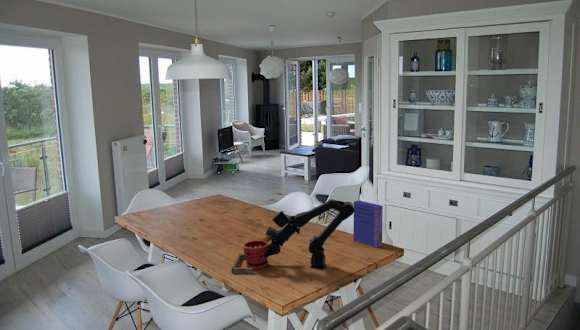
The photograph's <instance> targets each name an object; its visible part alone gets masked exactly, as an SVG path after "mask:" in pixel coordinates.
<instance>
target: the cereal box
mask: <svg viewBox="0 0 580 330" xmlns="http://www.w3.org/2000/svg"><path fill="white" fill-rule="evenodd" d="M353 207H354V213H353V241H354V242H357V243H360V244H363V245H366V246H369V247H372V248H375V249H378V248H381V247H383V218H384V217H383V216H384V214H383V212H384V210H383V207H384V206H383V205H380V204H377V203H373V202H368V201H362V200H356V201H353Z"/></svg>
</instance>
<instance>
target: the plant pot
mask: <svg viewBox="0 0 580 330" xmlns="http://www.w3.org/2000/svg"><path fill="white" fill-rule="evenodd" d="M269 244H270V243H269V242H268V241H267V242H266V241H261V240H250V241H246V242H244V244H243V246H242V247H243V248H242V249H243V254H244V256H245V259H244V260H245V261H246V262H245V265H246V268H253V270H254V269H255V270H256V269H257V270H258V269H259V270H260V269H263V268H265V267H267V266H268V265H269V261H268V258H269V256H268V257H264V255H265V253H266V252H267V250H268V249H269V247H268V246H269ZM259 245H260V246H259Z"/></svg>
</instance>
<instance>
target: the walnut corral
mask: <svg viewBox="0 0 580 330" xmlns="http://www.w3.org/2000/svg"><path fill="white" fill-rule="evenodd" d="M241 260H246V259H245V256H244V253H239V254H238V255H237V256H236V259H235V261H234V263H233V264H232V266H231V274H246V275H247V274H251V275H252V274H254V269H253V268H249V267H238V266H239V264H240V261H241Z"/></svg>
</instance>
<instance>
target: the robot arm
mask: <svg viewBox="0 0 580 330" xmlns="http://www.w3.org/2000/svg"><path fill="white" fill-rule="evenodd" d="M330 210H334V211H337V214H336V215H335V216H334V217H333V218H332V220H331V221H330V222H329V224H328V225H327V226H326V227H325V228H324V229H323V231H321V232H320V233H319V235H315V234H314V235H313V237H312V238H311V239H309V243H308V251H309V253H310V254H311V257H310V268H312V269H318V270H323V269H324V268H325V267H327V264H326V254H325V247H323V246H324V244H325V242H326V241H327V240H328V238H330V236H331V235H332V234H333V232H335V230H336V229H338V227H339V226H340V225H341V224H342V222H343V221H346V220H347V219H348V218H350V217H351V216H352V215H354V203H352V202H350V201H342V200H336V199H333V198H329V199H328V200H327V201H325V202H324V203H321V204H320V205H317V206H315V207H313V208H312V209H309V210H307V211H302V212H299V213H297V214H295V215H289V216H288V215H286V213H284V211H283V210H280V211H279V212H278V213H276V214H275V215H274V216H273V218H272V219H271V221H272V222H273V223H274V224H276V226H278V227H279V228H282V229H279V230H278V229H276V228H274V227H271V226H268V227H267V230H266V231H265V235H266V236H267V235H269V236H271V238H270V242H269V243H268V244H269V246H268V247H269V249H268V250H267V252H266V253H265V255H264V257H268V258H269V257H271V256H274V255H279V254H280V253H281V250H282V249H281V248H282V247H283V246H284V244H285V243H286V242H288V241H289V239H290V238H291V237H292V236H294V234H295V233H297V234H298V235H300V234H301V228H302V227H304V226H305V225H307V224H308V223H309V222H310V221H311V220H312V219H314V218H316V217H318V216H320V215H322V214H324V213H326V212H328V211H330Z"/></svg>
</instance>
